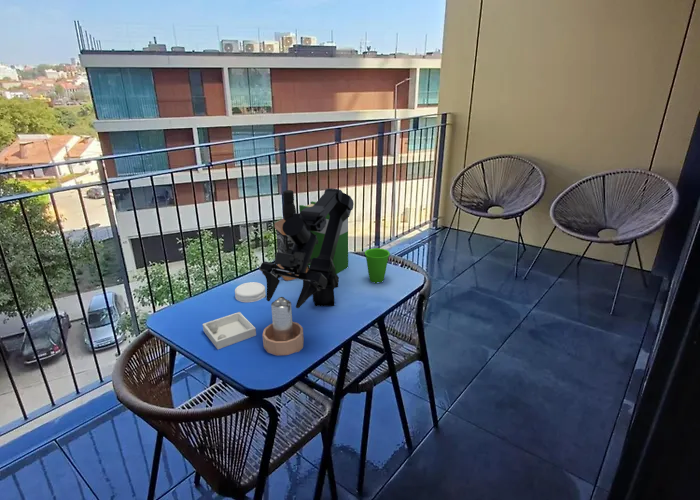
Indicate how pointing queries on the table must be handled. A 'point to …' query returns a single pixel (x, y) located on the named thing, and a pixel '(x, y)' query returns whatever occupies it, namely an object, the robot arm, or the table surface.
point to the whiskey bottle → (282, 238)
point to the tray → (230, 330)
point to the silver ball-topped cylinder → (282, 319)
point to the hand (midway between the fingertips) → (282, 304)
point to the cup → (377, 263)
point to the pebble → (213, 328)
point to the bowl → (283, 346)
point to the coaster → (250, 292)
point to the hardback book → (342, 245)
